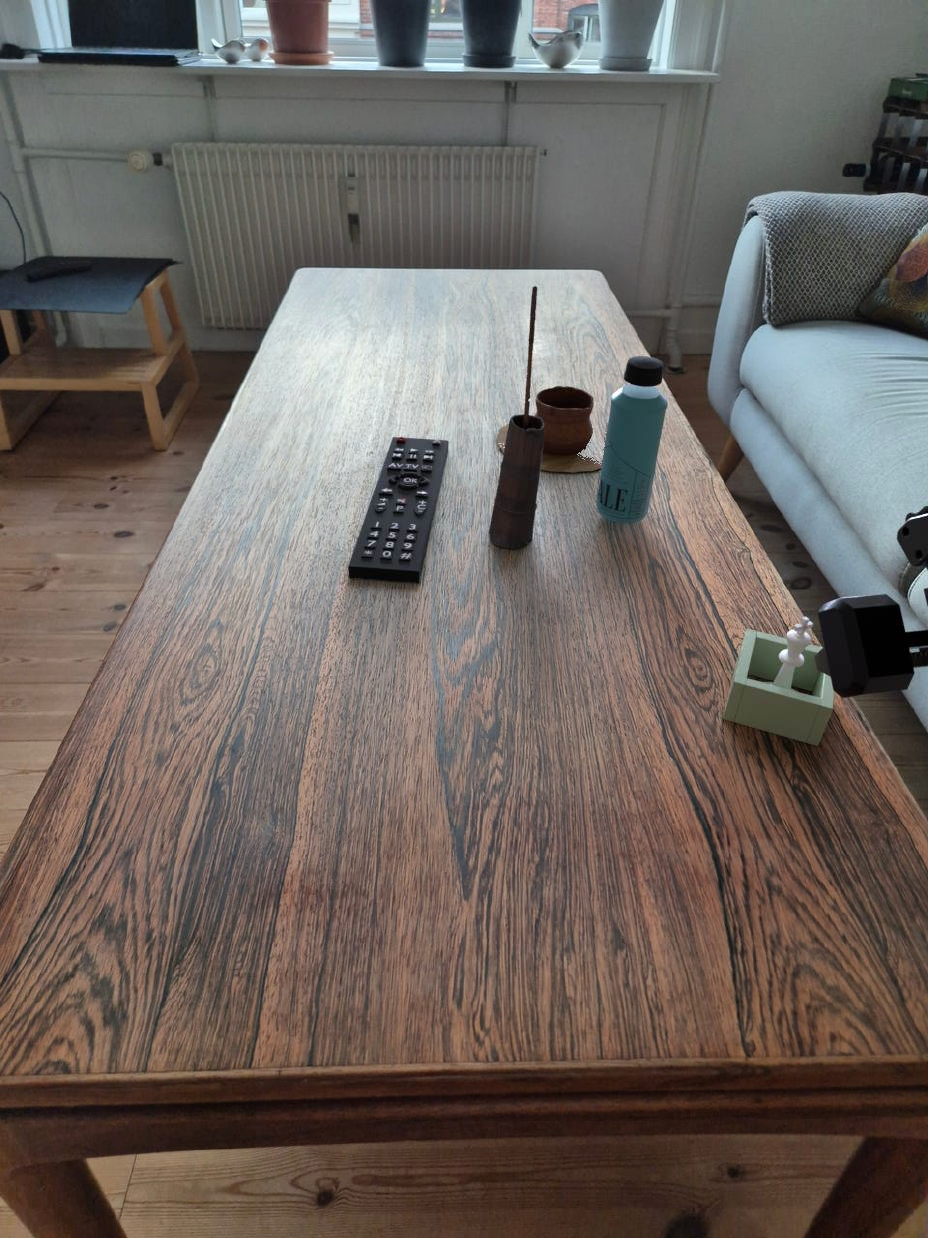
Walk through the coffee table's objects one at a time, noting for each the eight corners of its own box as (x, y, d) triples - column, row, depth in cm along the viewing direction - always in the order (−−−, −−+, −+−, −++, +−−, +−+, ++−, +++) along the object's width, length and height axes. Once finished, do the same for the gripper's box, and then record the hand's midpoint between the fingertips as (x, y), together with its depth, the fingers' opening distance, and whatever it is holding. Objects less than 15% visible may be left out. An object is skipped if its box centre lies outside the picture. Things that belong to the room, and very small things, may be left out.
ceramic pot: (635, 473, 112) (644, 424, 107) (503, 474, 110) (506, 424, 106) (608, 416, 126) (615, 370, 121) (490, 416, 125) (493, 370, 120)
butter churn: (552, 569, 93) (581, 314, 76) (467, 559, 94) (477, 305, 77) (557, 526, 100) (586, 284, 83) (479, 518, 101) (490, 277, 84)
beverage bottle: (650, 513, 104) (680, 353, 91) (642, 540, 99) (673, 375, 86) (598, 503, 105) (620, 345, 93) (587, 529, 100) (610, 366, 88)
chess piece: (814, 716, 76) (849, 630, 70) (769, 729, 74) (800, 641, 68) (780, 682, 79) (810, 596, 73) (736, 693, 78) (763, 607, 72)
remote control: (448, 450, 116) (448, 436, 114) (419, 583, 90) (419, 567, 89) (393, 446, 116) (393, 433, 115) (348, 578, 91) (347, 562, 89)
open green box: (824, 688, 79) (838, 651, 76) (817, 746, 73) (833, 709, 70) (735, 664, 81) (746, 628, 78) (722, 719, 75) (733, 681, 72)
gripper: (1143, 475, 52) (948, 547, 67) (889, 486, 47) (740, 561, 62) (1193, 652, 50) (981, 686, 65) (933, 681, 45) (768, 710, 60)
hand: (870, 657), depth 63 cm, fingers open, 9 cm apart
